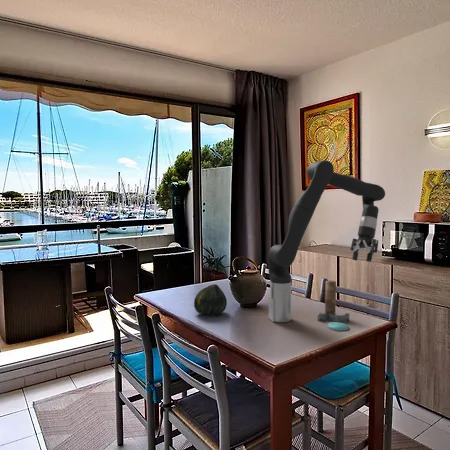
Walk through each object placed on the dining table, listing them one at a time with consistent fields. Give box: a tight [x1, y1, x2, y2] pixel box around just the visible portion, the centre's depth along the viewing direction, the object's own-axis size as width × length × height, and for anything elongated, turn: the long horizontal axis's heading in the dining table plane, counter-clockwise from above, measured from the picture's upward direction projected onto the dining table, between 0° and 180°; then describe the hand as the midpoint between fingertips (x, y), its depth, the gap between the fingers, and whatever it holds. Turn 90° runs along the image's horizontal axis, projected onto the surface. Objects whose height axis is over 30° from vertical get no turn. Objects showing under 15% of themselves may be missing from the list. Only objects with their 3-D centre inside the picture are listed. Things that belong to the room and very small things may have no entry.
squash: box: [193, 283, 228, 316], centre depth 180 cm, size 14×15×15 cm
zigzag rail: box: [317, 312, 350, 323], centre depth 170 cm, size 14×5×3 cm, turn 86°
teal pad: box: [327, 321, 349, 332], centre depth 161 cm, size 8×8×1 cm
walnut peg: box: [324, 279, 337, 315], centre depth 176 cm, size 5×5×16 cm
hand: (361, 260), depth 180 cm, fingers open, 8 cm apart
